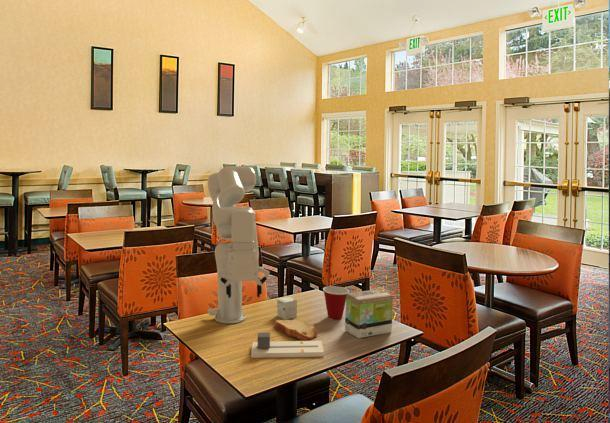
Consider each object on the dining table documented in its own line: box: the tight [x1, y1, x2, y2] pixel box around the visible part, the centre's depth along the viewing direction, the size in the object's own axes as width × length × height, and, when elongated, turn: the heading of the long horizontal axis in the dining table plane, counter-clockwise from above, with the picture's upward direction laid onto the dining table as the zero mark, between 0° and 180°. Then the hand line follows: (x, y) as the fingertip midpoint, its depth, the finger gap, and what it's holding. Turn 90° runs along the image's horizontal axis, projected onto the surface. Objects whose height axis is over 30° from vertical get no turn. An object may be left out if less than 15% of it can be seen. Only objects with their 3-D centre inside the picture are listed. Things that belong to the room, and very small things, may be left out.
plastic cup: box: [322, 285, 350, 320], centre depth 205 cm, size 11×11×12 cm
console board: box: [250, 340, 325, 359], centre depth 171 cm, size 24×10×2 cm, turn 92°
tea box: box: [344, 288, 394, 339], centre depth 188 cm, size 15×10×15 cm, turn 117°
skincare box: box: [276, 296, 298, 320], centre depth 206 cm, size 6×6×7 cm
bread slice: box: [273, 319, 318, 341], centre depth 190 cm, size 18×18×4 cm
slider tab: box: [257, 332, 271, 348], centre depth 170 cm, size 4×4×4 cm
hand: (244, 296), depth 169 cm, fingers open, 9 cm apart
